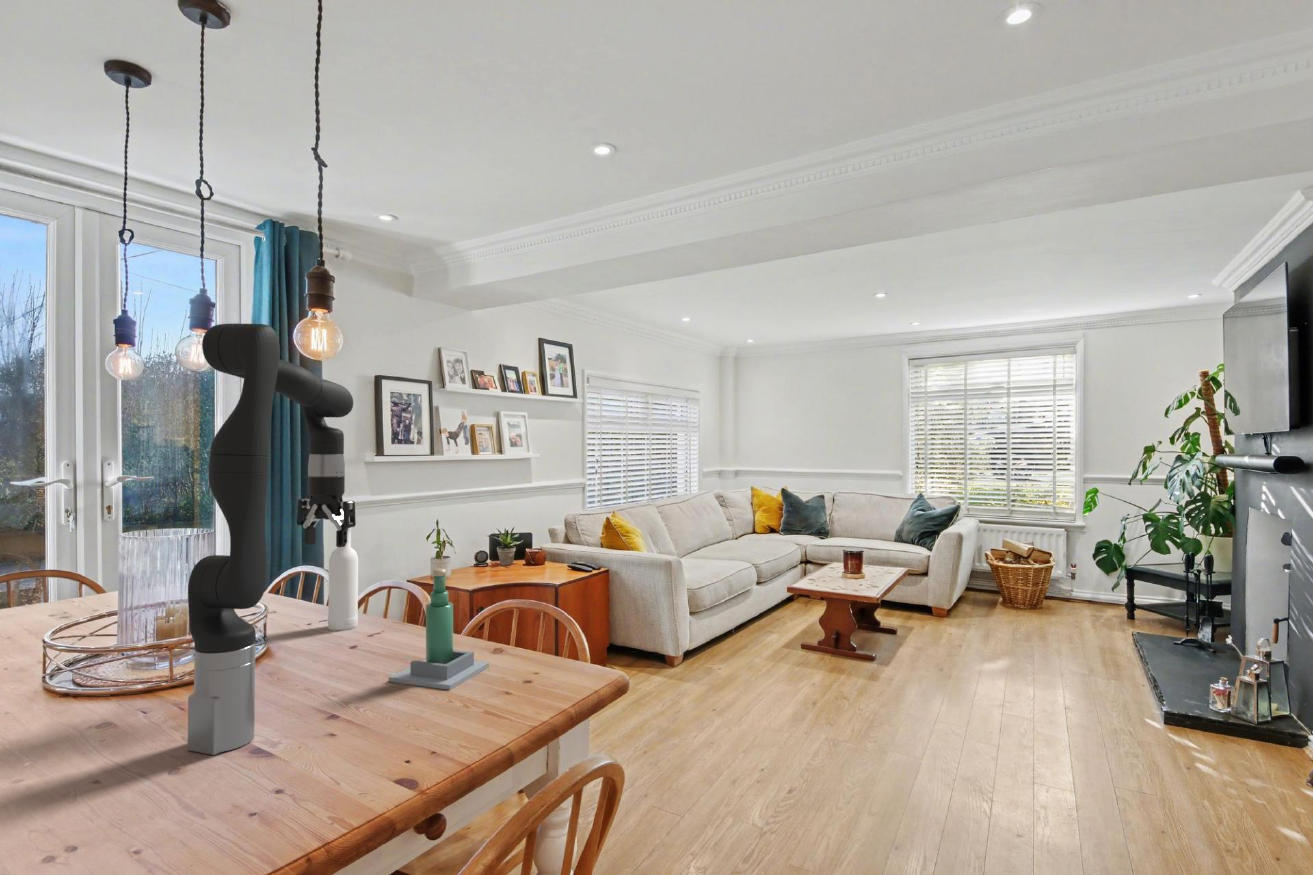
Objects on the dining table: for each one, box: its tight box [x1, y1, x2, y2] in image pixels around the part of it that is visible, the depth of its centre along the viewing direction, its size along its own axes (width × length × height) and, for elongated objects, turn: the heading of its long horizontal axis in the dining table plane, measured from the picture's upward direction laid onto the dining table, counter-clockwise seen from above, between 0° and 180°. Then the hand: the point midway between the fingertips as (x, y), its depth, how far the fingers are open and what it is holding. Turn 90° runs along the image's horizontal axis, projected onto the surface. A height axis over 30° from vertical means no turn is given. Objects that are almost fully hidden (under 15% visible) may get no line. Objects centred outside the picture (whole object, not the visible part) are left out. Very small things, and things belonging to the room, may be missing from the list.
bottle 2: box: [425, 568, 454, 664], centre depth 158 cm, size 6×6×23 cm
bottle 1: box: [327, 527, 359, 632], centre depth 197 cm, size 8×8×30 cm
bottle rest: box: [388, 649, 490, 691], centre depth 159 cm, size 16×16×4 cm
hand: (325, 545), depth 155 cm, fingers open, 8 cm apart
